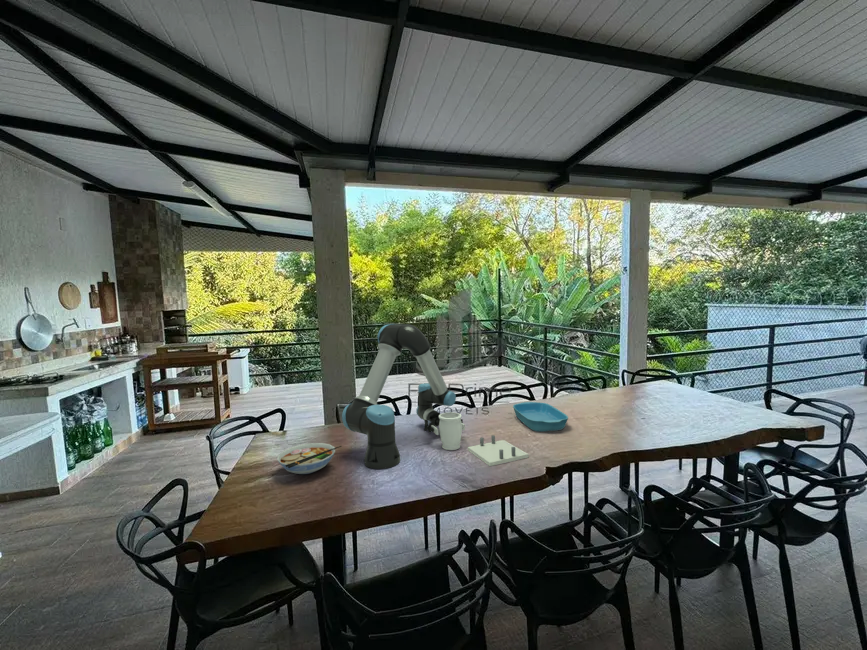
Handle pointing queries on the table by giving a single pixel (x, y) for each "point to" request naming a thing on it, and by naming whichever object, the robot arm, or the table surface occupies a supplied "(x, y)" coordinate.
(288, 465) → the ramen bowl
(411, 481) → the table surface
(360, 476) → the table surface
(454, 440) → the jar
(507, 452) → the tray
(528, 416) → the casserole dish
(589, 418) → the table surface
